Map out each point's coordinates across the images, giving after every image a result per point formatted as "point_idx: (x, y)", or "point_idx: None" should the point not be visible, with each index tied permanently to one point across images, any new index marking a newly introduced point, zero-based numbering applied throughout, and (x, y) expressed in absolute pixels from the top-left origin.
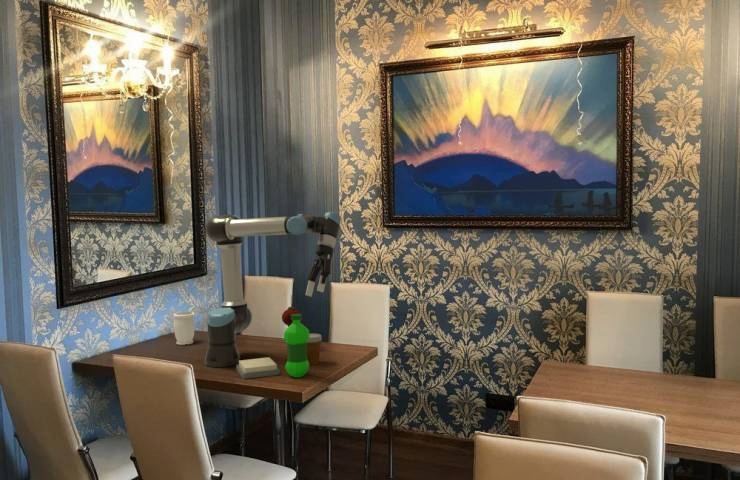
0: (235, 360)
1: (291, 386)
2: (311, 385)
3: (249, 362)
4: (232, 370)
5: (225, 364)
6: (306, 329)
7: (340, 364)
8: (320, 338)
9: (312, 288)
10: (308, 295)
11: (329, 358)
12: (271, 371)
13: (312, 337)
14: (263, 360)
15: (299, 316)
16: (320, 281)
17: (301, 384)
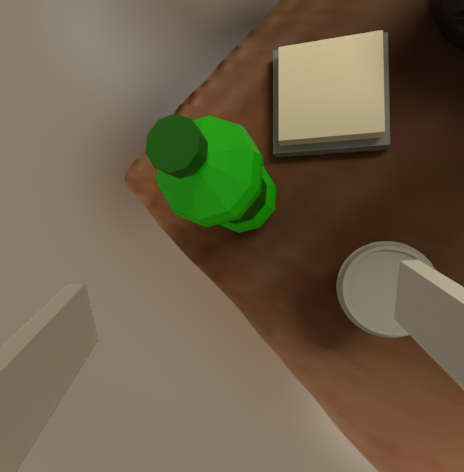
0: (455, 30)
1: None
2: (154, 212)
3: (341, 62)
4: None
5: (436, 2)
6: (174, 204)
7: (305, 355)
8: (355, 320)
9: (455, 365)
10: (398, 288)
11: (397, 354)
12: (273, 130)
13: (346, 282)
14: (348, 108)
15: (150, 157)
16: (2, 355)
17: None
